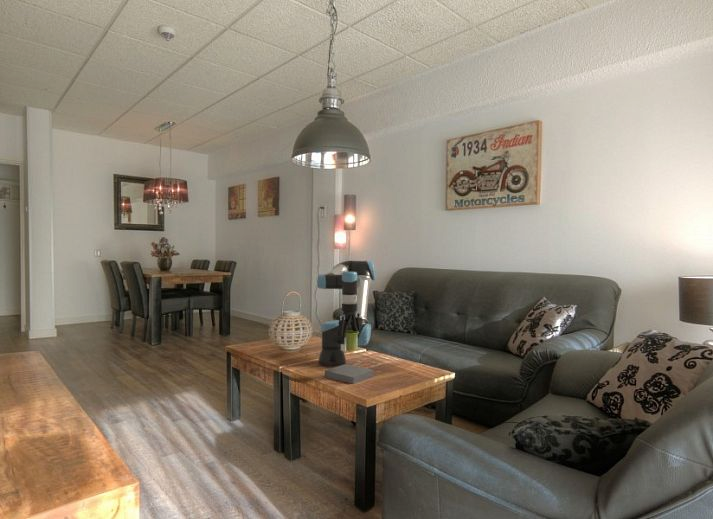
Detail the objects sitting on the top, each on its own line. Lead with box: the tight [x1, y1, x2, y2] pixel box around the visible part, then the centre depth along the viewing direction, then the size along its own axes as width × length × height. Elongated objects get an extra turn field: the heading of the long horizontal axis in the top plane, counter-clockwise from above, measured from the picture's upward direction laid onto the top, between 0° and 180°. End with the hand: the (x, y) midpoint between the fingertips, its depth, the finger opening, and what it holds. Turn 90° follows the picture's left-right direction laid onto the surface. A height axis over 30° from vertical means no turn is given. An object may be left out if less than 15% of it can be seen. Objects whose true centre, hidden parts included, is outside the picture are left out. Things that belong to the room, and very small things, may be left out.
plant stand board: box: [324, 363, 374, 384], centre depth 210 cm, size 18×16×3 cm
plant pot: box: [345, 330, 359, 352], centre depth 209 cm, size 9×9×9 cm
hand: (349, 348), depth 209 cm, fingers closed on plant pot, 8 cm apart
